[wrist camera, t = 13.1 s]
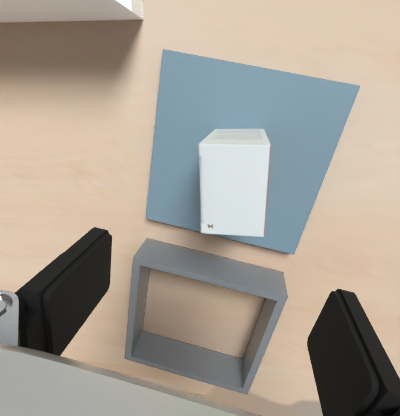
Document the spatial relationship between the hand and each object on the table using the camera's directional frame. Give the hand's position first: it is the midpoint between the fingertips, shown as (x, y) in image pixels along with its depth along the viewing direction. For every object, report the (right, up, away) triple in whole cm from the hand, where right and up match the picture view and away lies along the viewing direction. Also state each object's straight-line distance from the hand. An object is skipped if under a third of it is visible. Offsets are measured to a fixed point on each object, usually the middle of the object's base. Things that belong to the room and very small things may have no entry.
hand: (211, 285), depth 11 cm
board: (+4, +9, +21) cm, 23 cm away
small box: (+4, +9, +20) cm, 22 cm away
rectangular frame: (0, -12, +31) cm, 33 cm away
